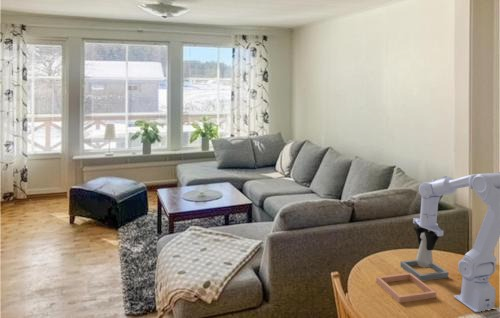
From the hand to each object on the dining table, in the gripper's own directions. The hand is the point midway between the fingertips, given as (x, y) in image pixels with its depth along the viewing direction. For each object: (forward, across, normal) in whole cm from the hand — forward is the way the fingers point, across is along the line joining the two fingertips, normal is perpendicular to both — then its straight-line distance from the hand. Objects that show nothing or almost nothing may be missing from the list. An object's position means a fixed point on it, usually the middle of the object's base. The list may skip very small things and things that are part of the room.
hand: (425, 247), depth 144 cm
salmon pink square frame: (+10, -10, +15) cm, 21 cm away
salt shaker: (+8, 0, 0) cm, 8 cm away
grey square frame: (+10, 0, 0) cm, 10 cm away
